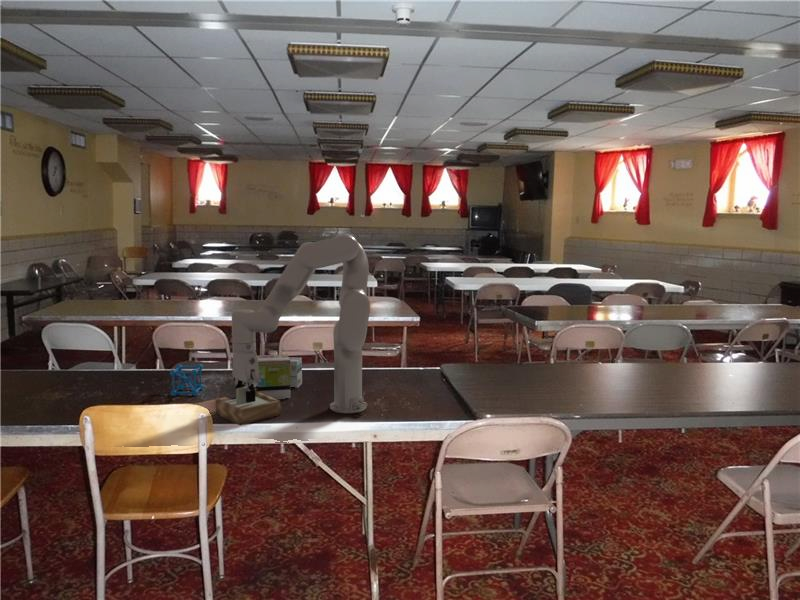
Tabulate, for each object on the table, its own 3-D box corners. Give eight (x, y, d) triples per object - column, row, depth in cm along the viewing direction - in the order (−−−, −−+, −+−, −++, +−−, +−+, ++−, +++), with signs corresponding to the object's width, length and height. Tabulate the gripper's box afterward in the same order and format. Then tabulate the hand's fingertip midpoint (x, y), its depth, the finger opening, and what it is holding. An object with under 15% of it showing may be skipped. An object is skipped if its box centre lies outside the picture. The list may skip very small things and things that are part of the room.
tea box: (248, 402, 218) (247, 361, 216) (247, 394, 228) (246, 355, 226) (291, 399, 223) (290, 359, 221) (288, 391, 232) (287, 353, 230)
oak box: (280, 415, 204) (280, 400, 204) (239, 425, 194) (239, 410, 194) (255, 404, 216) (255, 390, 215) (215, 413, 206) (215, 399, 205)
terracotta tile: (242, 406, 214) (242, 404, 213) (210, 413, 205) (210, 412, 205) (225, 398, 222) (225, 397, 222) (194, 405, 214) (194, 403, 214)
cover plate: (274, 406, 204) (274, 388, 203) (241, 414, 196) (240, 396, 195) (254, 397, 214) (253, 380, 213) (221, 405, 205) (220, 387, 204)
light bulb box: (302, 383, 243) (302, 357, 241) (298, 388, 236) (297, 361, 235) (276, 382, 244) (275, 356, 242) (270, 387, 237) (270, 360, 236)
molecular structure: (204, 389, 234) (203, 363, 233) (197, 396, 224) (196, 370, 223) (177, 389, 233) (176, 363, 232) (169, 397, 224) (168, 370, 222)
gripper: (268, 349, 199) (269, 403, 202) (241, 341, 212) (242, 392, 214) (247, 353, 194) (248, 408, 197) (221, 344, 207) (222, 396, 209)
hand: (245, 399), depth 205 cm, fingers open, 6 cm apart
